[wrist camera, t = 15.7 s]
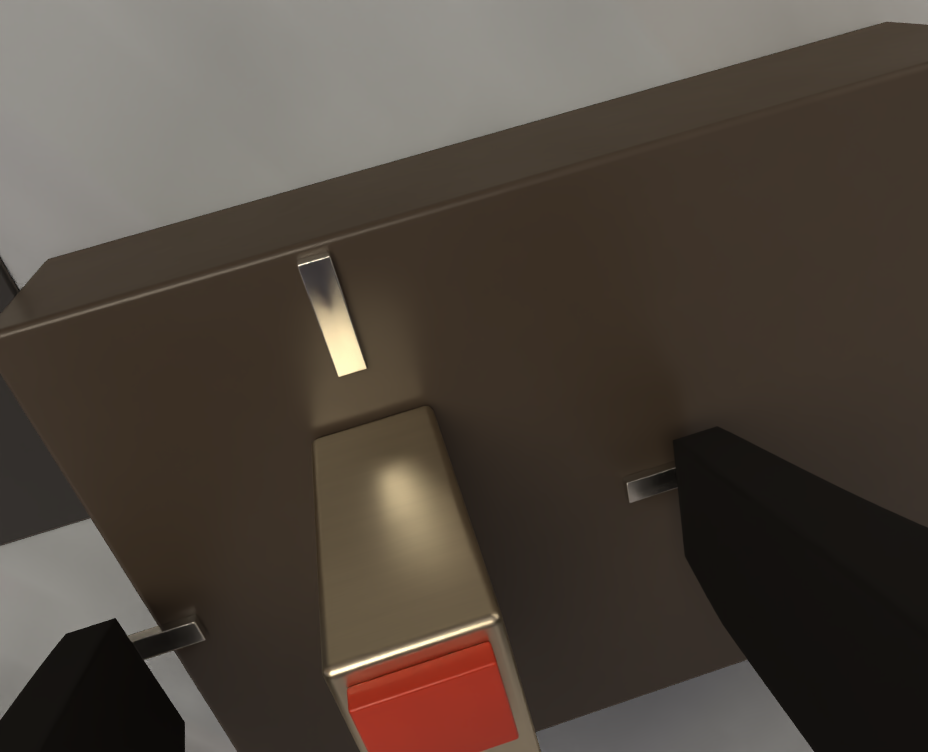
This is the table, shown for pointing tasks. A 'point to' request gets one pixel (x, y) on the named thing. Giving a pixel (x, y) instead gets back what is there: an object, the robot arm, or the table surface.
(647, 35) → the table surface
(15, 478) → the hob
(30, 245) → the table surface
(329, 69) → the table surface
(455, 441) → the dial box
